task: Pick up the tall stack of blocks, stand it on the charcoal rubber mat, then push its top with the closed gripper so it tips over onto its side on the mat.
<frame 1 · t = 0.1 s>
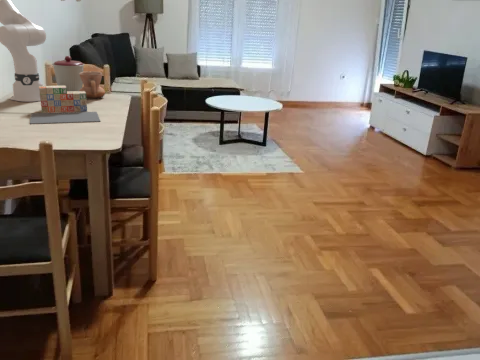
hand: (71, 0, 216), 52 cm above the table, tool tilted 20°, fingers open, 8 cm apart
charcoal mat: (65, 117, 216), on the table
canister: (70, 92, 277), on the table
ceramic jug: (92, 98, 264), on the table
stack of blocks: (64, 111, 230), on the table
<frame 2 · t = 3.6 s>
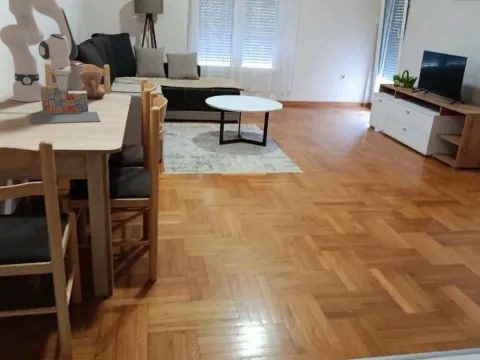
hand: (63, 97, 228), 7 cm above the table, tool pointing down, fingers closed on stack of blocks, 6 cm apart
stack of blocks: (65, 111, 230), on the table, touching gripper
everything else where it was.
when the fingers open (9 cm above the table, at t = 9.8 s): stack of blocks moves 1 cm, resting on charcoal mat.
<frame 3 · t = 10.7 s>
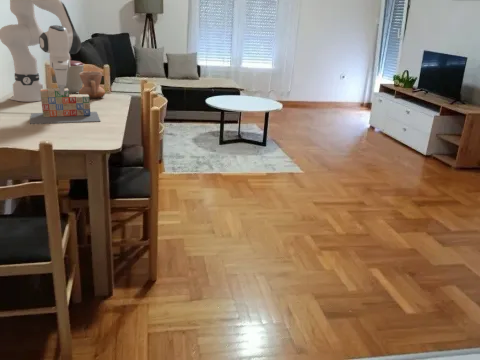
hand: (62, 92, 217), 11 cm above the table, tool pointing down, fingers open, 8 cm apart
stack of blocks: (66, 115, 220), resting on charcoal mat
everything else where it was.
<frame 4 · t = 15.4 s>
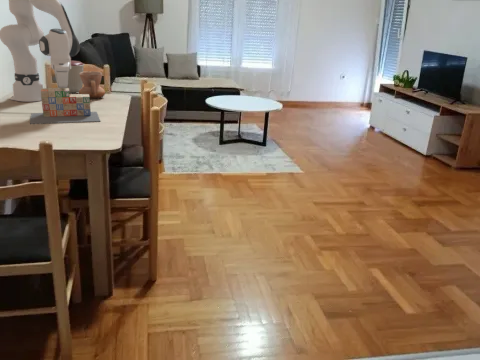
hand: (63, 94, 222), 9 cm above the table, tool pointing down, fingers closed
stack of blocks: (67, 115, 220), resting on charcoal mat, touching gripper
everything else where it was.
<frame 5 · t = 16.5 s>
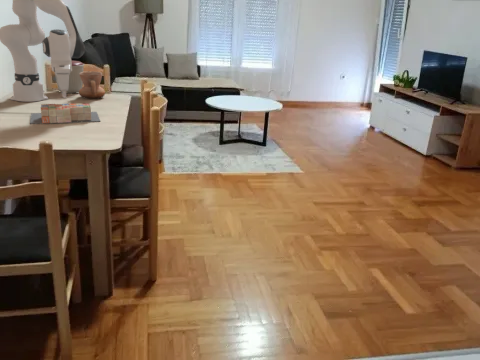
hand: (64, 97, 215), 9 cm above the table, tool pointing down, fingers closed
stack of blocks: (66, 109, 216), point 4 cm above the table, touching charcoal mat
everything else where it was.
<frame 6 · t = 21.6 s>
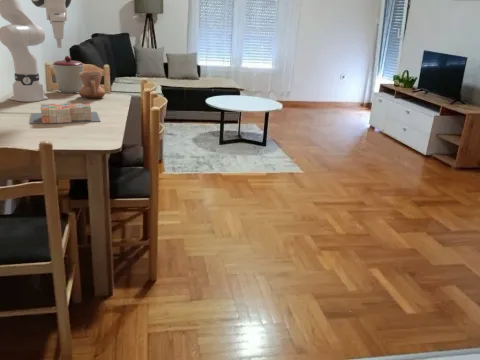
hand: (59, 47, 214), 31 cm above the table, tool pointing down, fingers closed
nothing on the table moved.
at the end: stack of blocks tilted 90°; stack of blocks inside the target area (2.9 cm from its centre), point 3.5 cm above the table; the gripper is holding nothing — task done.
